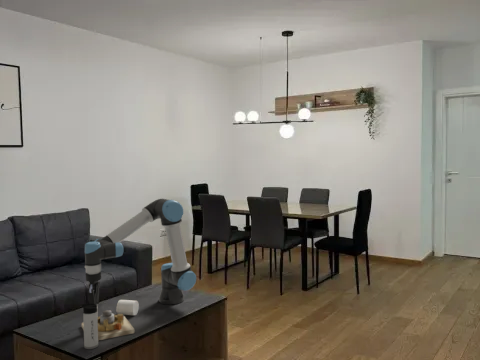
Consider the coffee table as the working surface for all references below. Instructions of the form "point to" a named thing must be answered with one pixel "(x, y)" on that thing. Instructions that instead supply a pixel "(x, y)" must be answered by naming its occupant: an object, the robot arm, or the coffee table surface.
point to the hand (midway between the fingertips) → (94, 317)
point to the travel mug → (90, 326)
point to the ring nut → (108, 327)
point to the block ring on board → (124, 330)
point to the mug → (127, 307)
